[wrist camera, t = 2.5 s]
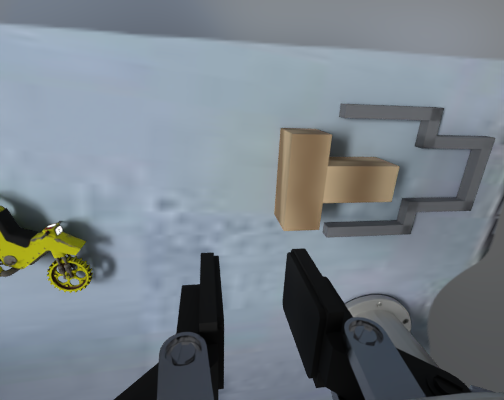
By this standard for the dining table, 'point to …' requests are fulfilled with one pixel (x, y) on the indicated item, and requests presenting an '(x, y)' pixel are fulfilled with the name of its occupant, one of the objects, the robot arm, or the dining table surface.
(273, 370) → the dining table surface
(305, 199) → the oak t block
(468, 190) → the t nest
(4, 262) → the toy motorcycle
